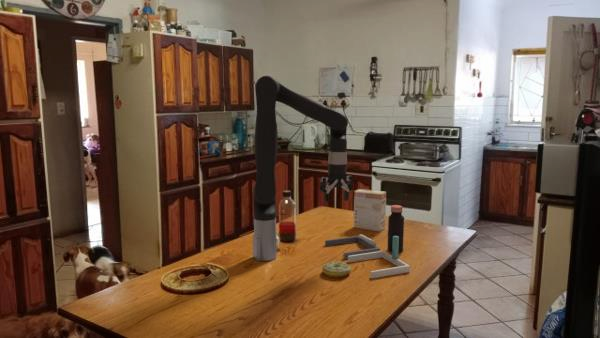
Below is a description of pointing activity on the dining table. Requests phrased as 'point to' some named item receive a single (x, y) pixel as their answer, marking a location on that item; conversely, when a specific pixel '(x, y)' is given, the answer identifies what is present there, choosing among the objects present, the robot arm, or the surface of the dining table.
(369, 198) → the coffeecake box
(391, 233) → the vinegar
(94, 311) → the dining table surface
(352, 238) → the grey u-shaped handle
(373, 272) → the white u-shaped bracket
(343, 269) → the decorated donut
